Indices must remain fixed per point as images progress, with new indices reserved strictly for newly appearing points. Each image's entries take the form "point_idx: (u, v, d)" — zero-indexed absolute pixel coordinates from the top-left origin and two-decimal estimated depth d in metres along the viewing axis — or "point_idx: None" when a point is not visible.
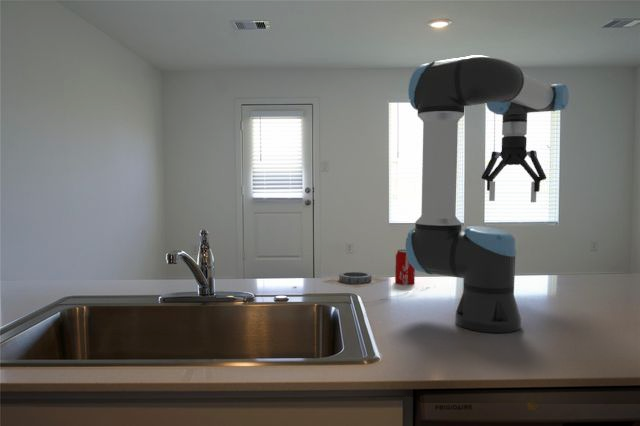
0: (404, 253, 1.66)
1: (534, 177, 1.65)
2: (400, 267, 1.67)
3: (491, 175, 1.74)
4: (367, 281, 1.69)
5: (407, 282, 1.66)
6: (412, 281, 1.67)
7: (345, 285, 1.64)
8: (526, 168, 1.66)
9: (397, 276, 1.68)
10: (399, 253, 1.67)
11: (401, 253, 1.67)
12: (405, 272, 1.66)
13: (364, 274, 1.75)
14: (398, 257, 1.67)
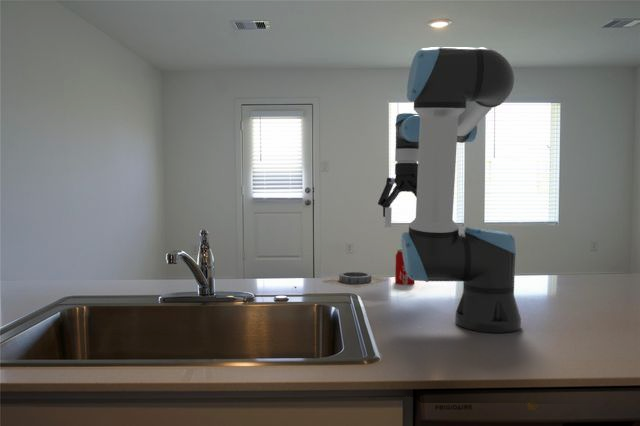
0: None
1: None
2: (400, 267, 1.67)
3: (386, 201, 1.71)
4: (367, 281, 1.69)
5: (407, 282, 1.66)
6: (412, 281, 1.67)
7: (345, 285, 1.64)
8: (417, 196, 1.64)
9: (397, 276, 1.68)
10: (399, 253, 1.67)
11: (401, 253, 1.67)
12: (405, 272, 1.66)
13: (364, 274, 1.75)
14: (398, 257, 1.67)
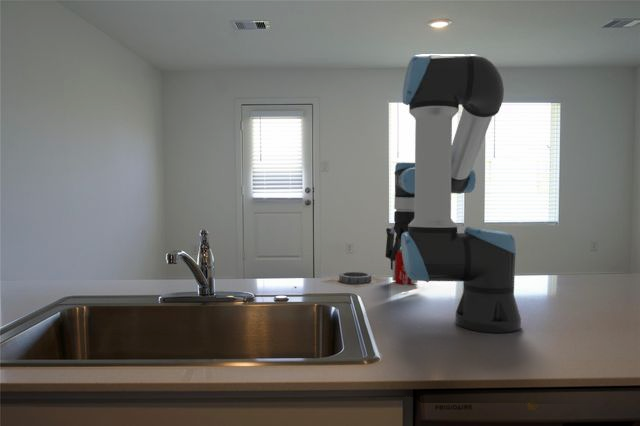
0: None
1: None
2: (400, 267, 1.67)
3: (392, 253, 1.70)
4: (367, 281, 1.69)
5: (407, 282, 1.66)
6: None
7: (345, 285, 1.64)
8: None
9: (397, 276, 1.68)
10: (399, 253, 1.67)
11: (401, 253, 1.67)
12: (405, 272, 1.66)
13: (364, 274, 1.75)
14: (398, 257, 1.67)
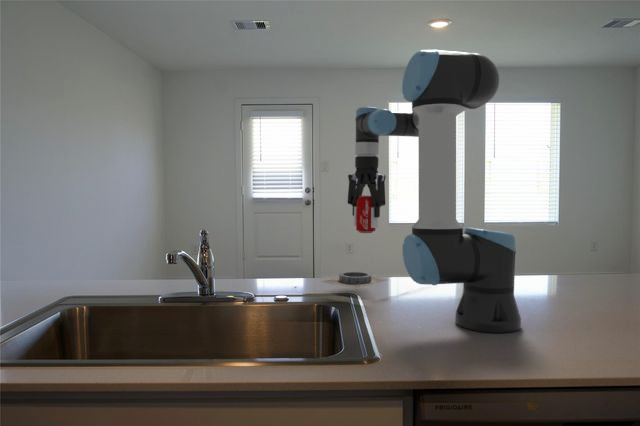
0: (364, 198, 1.68)
1: (374, 203, 1.67)
2: (361, 212, 1.68)
3: (354, 199, 1.72)
4: (367, 281, 1.69)
5: (368, 227, 1.68)
6: None
7: (345, 285, 1.64)
8: (371, 191, 1.67)
9: (358, 221, 1.70)
10: (360, 198, 1.69)
11: (361, 198, 1.68)
12: (365, 217, 1.68)
13: (364, 274, 1.75)
14: (359, 202, 1.69)
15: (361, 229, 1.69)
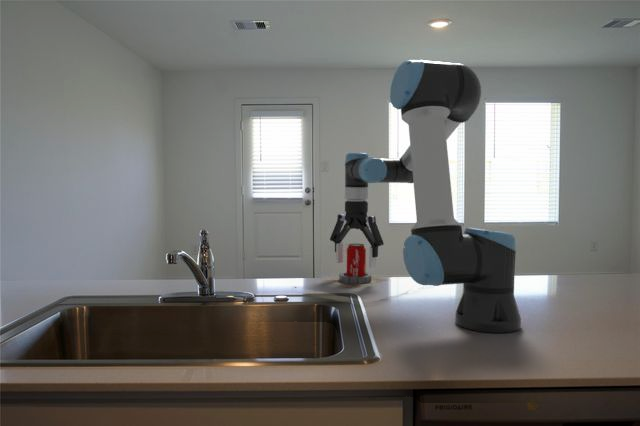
0: (354, 247, 1.69)
1: (371, 243, 1.66)
2: (351, 261, 1.69)
3: (337, 237, 1.75)
4: (367, 281, 1.69)
5: (358, 275, 1.69)
6: (362, 274, 1.70)
7: (345, 285, 1.64)
8: (365, 233, 1.67)
9: (348, 269, 1.71)
10: (350, 247, 1.70)
11: (351, 247, 1.70)
12: (355, 266, 1.69)
13: None
14: (349, 251, 1.70)
15: None
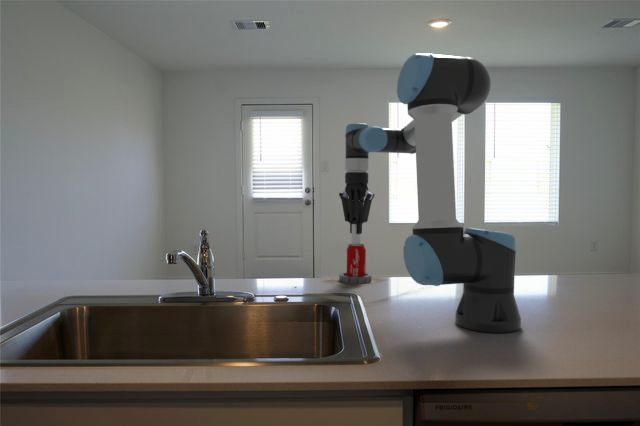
0: (354, 247, 1.69)
1: (357, 219, 1.69)
2: (351, 261, 1.69)
3: (350, 216, 1.71)
4: (367, 281, 1.69)
5: (358, 275, 1.69)
6: (362, 274, 1.70)
7: (345, 285, 1.64)
8: (357, 208, 1.69)
9: (348, 269, 1.71)
10: (350, 247, 1.70)
11: (351, 247, 1.70)
12: (355, 266, 1.69)
13: None
14: (349, 251, 1.70)
15: None
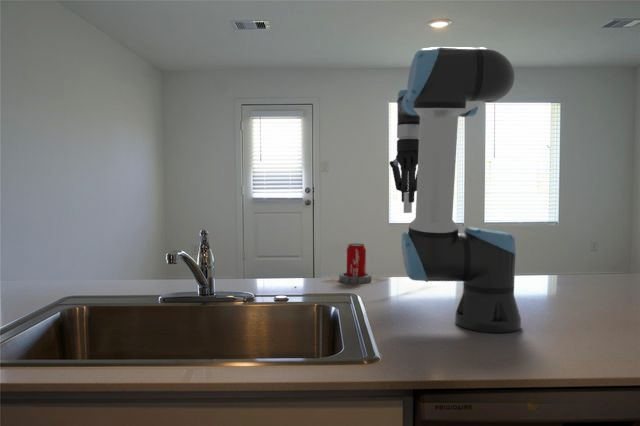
0: (354, 247, 1.69)
1: (410, 187, 1.66)
2: (351, 261, 1.69)
3: (402, 185, 1.68)
4: (367, 281, 1.69)
5: (358, 275, 1.69)
6: (362, 274, 1.70)
7: (345, 285, 1.64)
8: (409, 175, 1.66)
9: (348, 269, 1.71)
10: (350, 247, 1.70)
11: (351, 247, 1.70)
12: (355, 266, 1.69)
13: None
14: (349, 251, 1.70)
15: None
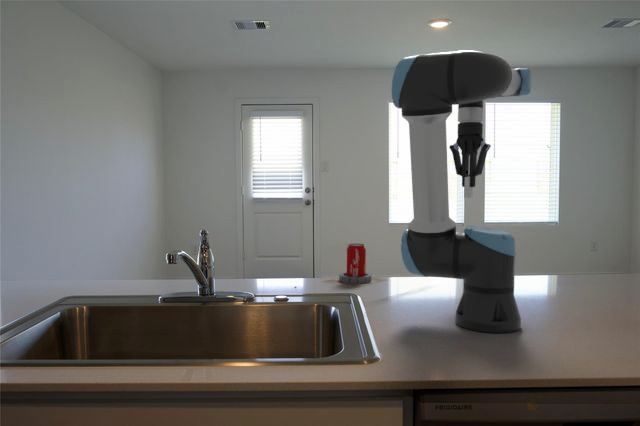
0: (354, 247, 1.69)
1: (471, 172, 1.63)
2: (351, 261, 1.69)
3: (463, 169, 1.65)
4: (367, 281, 1.69)
5: (358, 275, 1.69)
6: (362, 274, 1.70)
7: (345, 285, 1.64)
8: (471, 159, 1.63)
9: (348, 269, 1.71)
10: (350, 247, 1.70)
11: (351, 247, 1.70)
12: (355, 266, 1.69)
13: None
14: (349, 251, 1.70)
15: None
